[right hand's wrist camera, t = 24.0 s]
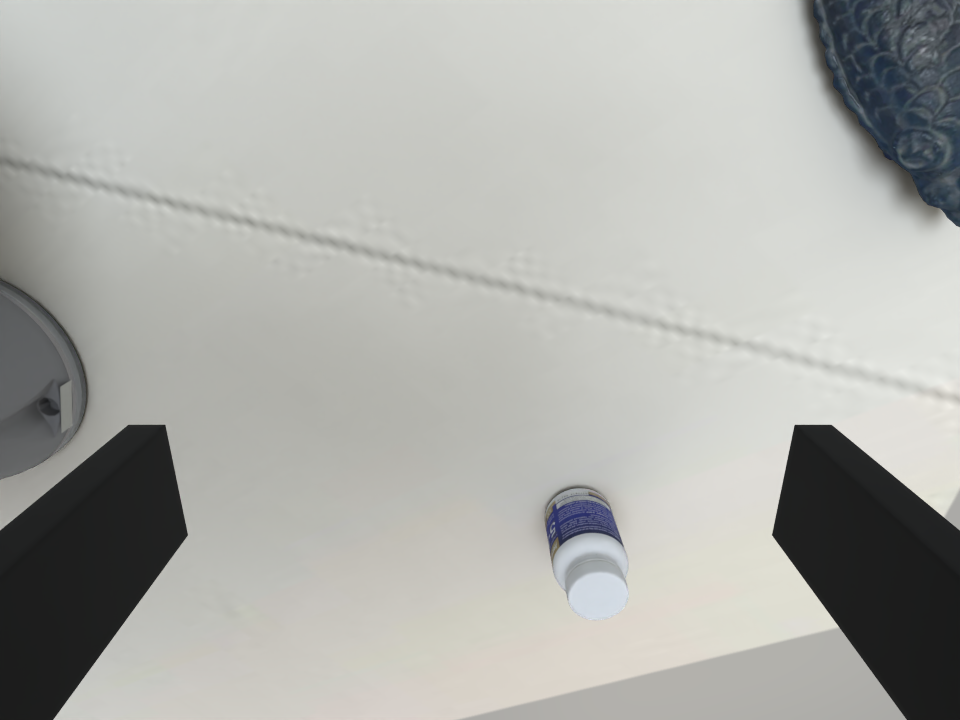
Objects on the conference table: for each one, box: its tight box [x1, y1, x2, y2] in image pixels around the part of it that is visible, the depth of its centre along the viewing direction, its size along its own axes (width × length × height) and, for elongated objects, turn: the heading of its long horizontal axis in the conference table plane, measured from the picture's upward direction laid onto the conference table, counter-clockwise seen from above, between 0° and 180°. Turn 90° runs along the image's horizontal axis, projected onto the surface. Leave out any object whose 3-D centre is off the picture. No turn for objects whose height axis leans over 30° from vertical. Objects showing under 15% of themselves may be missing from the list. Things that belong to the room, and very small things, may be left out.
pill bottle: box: [545, 488, 629, 620], centre depth 43 cm, size 5×5×9 cm
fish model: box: [813, 0, 960, 227], centre depth 34 cm, size 7×21×5 cm, turn 34°
